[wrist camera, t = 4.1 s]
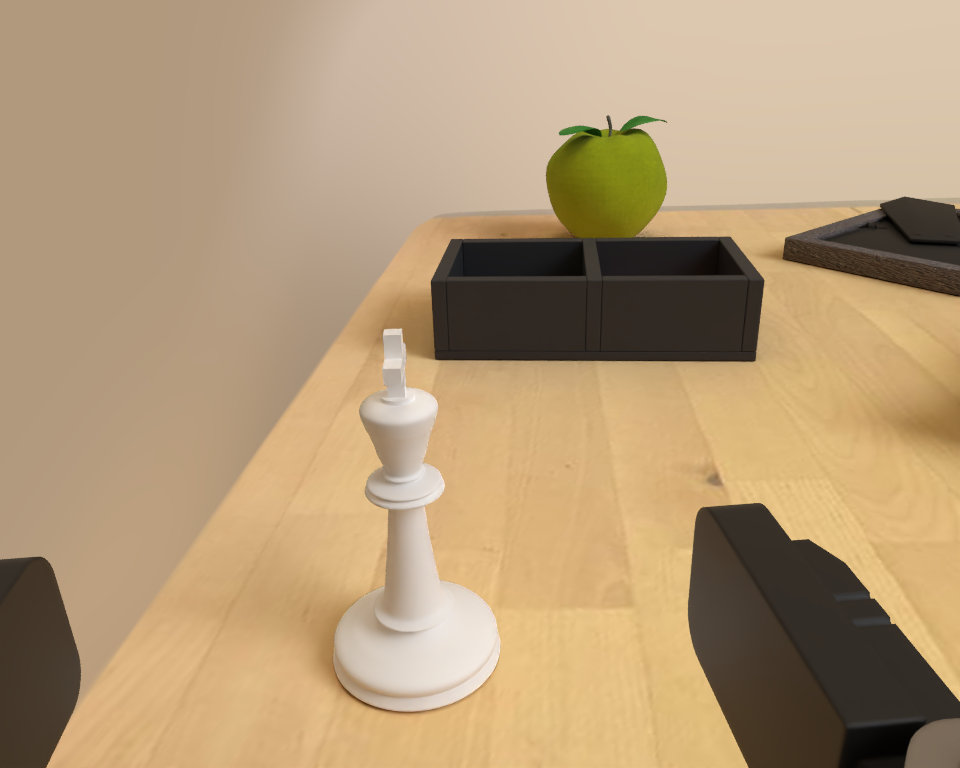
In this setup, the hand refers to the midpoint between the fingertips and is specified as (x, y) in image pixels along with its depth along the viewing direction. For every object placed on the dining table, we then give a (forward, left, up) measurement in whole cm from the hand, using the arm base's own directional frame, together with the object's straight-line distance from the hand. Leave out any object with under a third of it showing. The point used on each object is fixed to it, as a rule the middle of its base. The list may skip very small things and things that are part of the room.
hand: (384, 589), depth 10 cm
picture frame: (+30, +54, -11) cm, 63 cm away
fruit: (+6, +58, -11) cm, 60 cm away
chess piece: (-2, +10, -11) cm, 15 cm away
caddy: (+4, +37, -10) cm, 39 cm away
